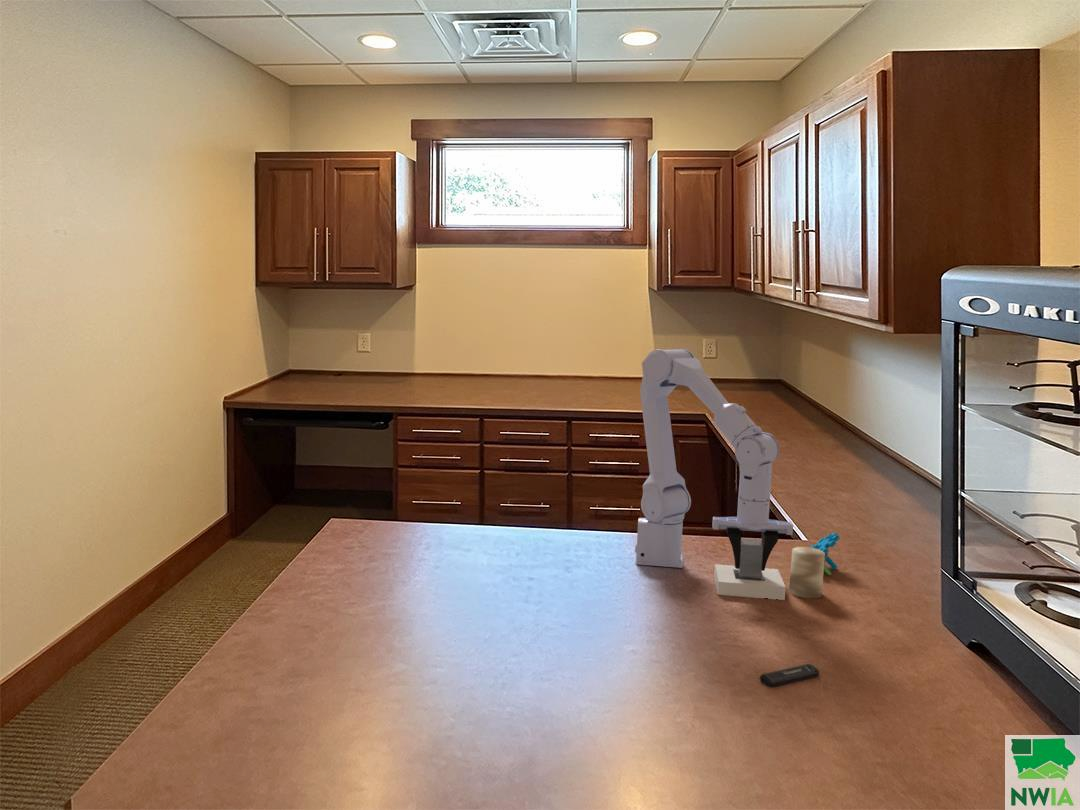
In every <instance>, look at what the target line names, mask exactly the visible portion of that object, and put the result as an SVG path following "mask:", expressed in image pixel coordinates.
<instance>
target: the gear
mask: <svg viewBox="0 0 1080 810" xmlns="http://www.w3.org/2000/svg"><path fill="white" fill-rule="evenodd" d="M839 540H840V536H839V534H837V532H835V531H834V532H833V533H828V534H826V536H825V537H822V538H820V539H819V540H818V541H817V543H816V544H812V545H811V546H810V548H815V549H819V550H821V551H823V552H824V553H825V559H824V572H825V573H826V574H827V576H831V575H832V572H831V571H830V570H829V568H828V567H826V565H825V564H826V563H827V564H828V565H829V566H830V567H831V569H832V570H836V569H837V568H838V565H837V564H836V563H835V562H834V561H833V559H832V558H830V556H829V552H830V551H829V548H834V547H835V546H836V544H837V541H839Z"/></svg>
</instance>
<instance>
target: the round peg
mask: <svg viewBox="0 0 1080 810" xmlns="http://www.w3.org/2000/svg"><path fill="white" fill-rule="evenodd" d="M810 547H811V546H810ZM810 547H808V546H796V547H794V548H791V560H790V561H791V563H790V576H789V586H788V587H789V589H788V592H789V591H790V592H789V593H790V594H791V595H793V596H795V597H800V598H803V599H810V598H811V599H812V598H814V599H819V598H821V597H822V595H823V584H824V583H823V582H824V572H825V571H824V565H825V564H824V559H825V553H824V552H823V551H821V550H819V549H815V548H810Z"/></svg>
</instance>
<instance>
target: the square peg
mask: <svg viewBox="0 0 1080 810" xmlns="http://www.w3.org/2000/svg"><path fill="white" fill-rule="evenodd" d="M762 556H763V544H762V539H755V538H742V537H741V544H740V565H739V569H737V579H743V580H756V581H761V571H762Z"/></svg>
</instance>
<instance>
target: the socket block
mask: <svg viewBox="0 0 1080 810" xmlns="http://www.w3.org/2000/svg"><path fill="white" fill-rule="evenodd" d="M713 575H714V576H713V577H715V578H714V581H715V582H714V583H715V588H716V593H718V594H717V595H719V596H729V597H730V596H731V597H742V598H753V599H764V598H768V599H767V600H776V599H778V600H777V601H779V600H781V601H785V600H786V599H785V598H786V584H785V583H784V580H783V578H782V575H781V573H780V571H779V569H778V568H767V567H765V571H761V581H756V580H743V579H737V569H736V568H735V565H730V564H729V565H728V564H718V563H716V564H714V573H713Z"/></svg>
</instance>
